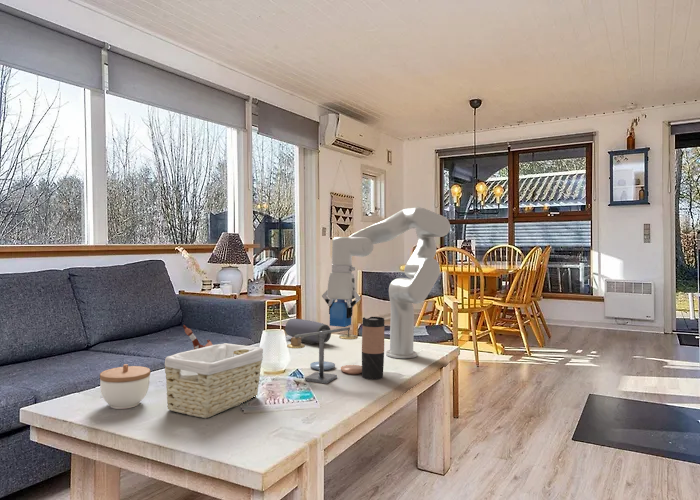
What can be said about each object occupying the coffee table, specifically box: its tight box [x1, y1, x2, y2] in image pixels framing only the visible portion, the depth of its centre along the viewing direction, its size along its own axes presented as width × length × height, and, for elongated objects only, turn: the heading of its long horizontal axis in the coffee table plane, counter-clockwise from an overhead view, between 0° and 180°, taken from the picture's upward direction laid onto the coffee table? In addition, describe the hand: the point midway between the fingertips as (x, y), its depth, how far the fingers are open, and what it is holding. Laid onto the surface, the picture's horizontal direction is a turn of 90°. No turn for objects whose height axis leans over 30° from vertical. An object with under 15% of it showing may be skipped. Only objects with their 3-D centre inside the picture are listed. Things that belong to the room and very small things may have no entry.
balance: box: [286, 326, 359, 385], centre depth 163 cm, size 8×25×18 cm, turn 68°
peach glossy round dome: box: [340, 364, 362, 375], centre depth 173 cm, size 9×9×1 cm
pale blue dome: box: [309, 360, 336, 371], centre depth 178 cm, size 9×9×1 cm
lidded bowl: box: [99, 363, 151, 410], centre depth 134 cm, size 13×13×11 cm
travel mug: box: [361, 316, 385, 381], centre depth 167 cm, size 8×8×20 cm
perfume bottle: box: [329, 299, 352, 328], centre depth 185 cm, size 6×6×12 cm
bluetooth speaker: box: [284, 318, 332, 345], centre depth 224 cm, size 23×9×10 cm, turn 46°
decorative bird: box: [182, 324, 214, 350], centre depth 164 cm, size 28×18×15 cm, turn 5°
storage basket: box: [164, 342, 264, 419], centre depth 136 cm, size 24×16×15 cm
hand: (340, 316), depth 185 cm, fingers closed on perfume bottle, 6 cm apart
